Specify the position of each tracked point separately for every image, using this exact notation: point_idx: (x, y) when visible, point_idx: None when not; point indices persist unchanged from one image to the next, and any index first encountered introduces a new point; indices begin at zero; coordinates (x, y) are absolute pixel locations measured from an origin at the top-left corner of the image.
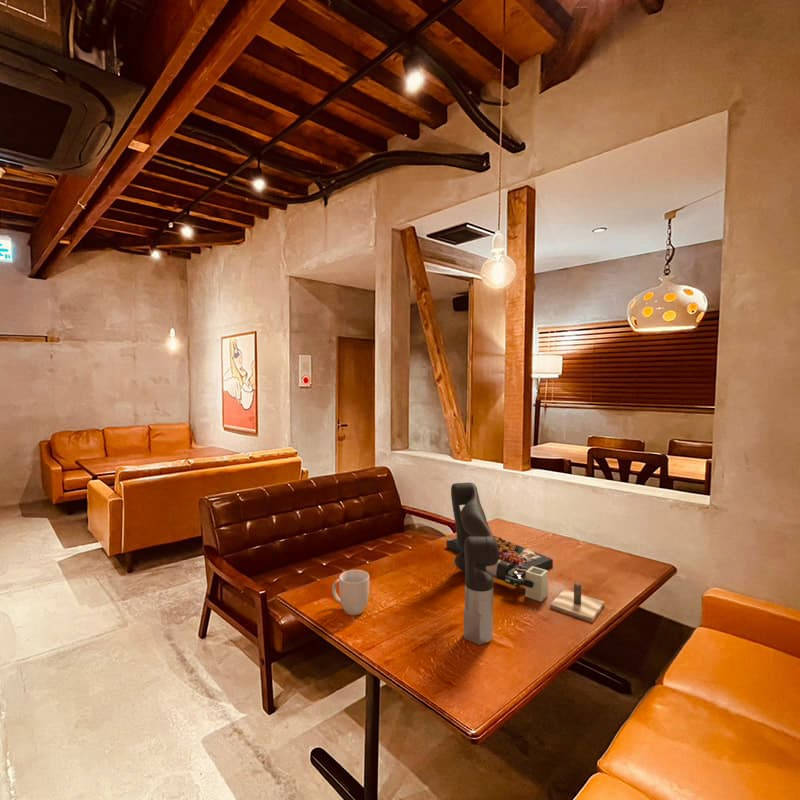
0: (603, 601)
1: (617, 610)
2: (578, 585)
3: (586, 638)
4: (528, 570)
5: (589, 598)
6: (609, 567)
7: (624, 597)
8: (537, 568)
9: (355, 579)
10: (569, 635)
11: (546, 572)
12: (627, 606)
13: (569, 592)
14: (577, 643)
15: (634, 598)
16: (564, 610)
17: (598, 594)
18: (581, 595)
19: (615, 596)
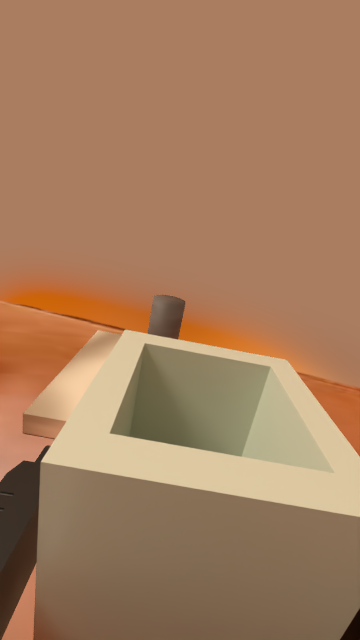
0: (98, 331)
1: (112, 329)
2: (176, 299)
3: (309, 377)
4: (311, 486)
5: (93, 350)
6: None
7: (17, 313)
8: (121, 389)
9: None
10: (345, 403)
11: (163, 341)
12: (76, 317)
13: (61, 395)
14: (352, 390)
15: (19, 304)
16: None
17: (8, 345)
18: (77, 364)
19: (15, 322)
